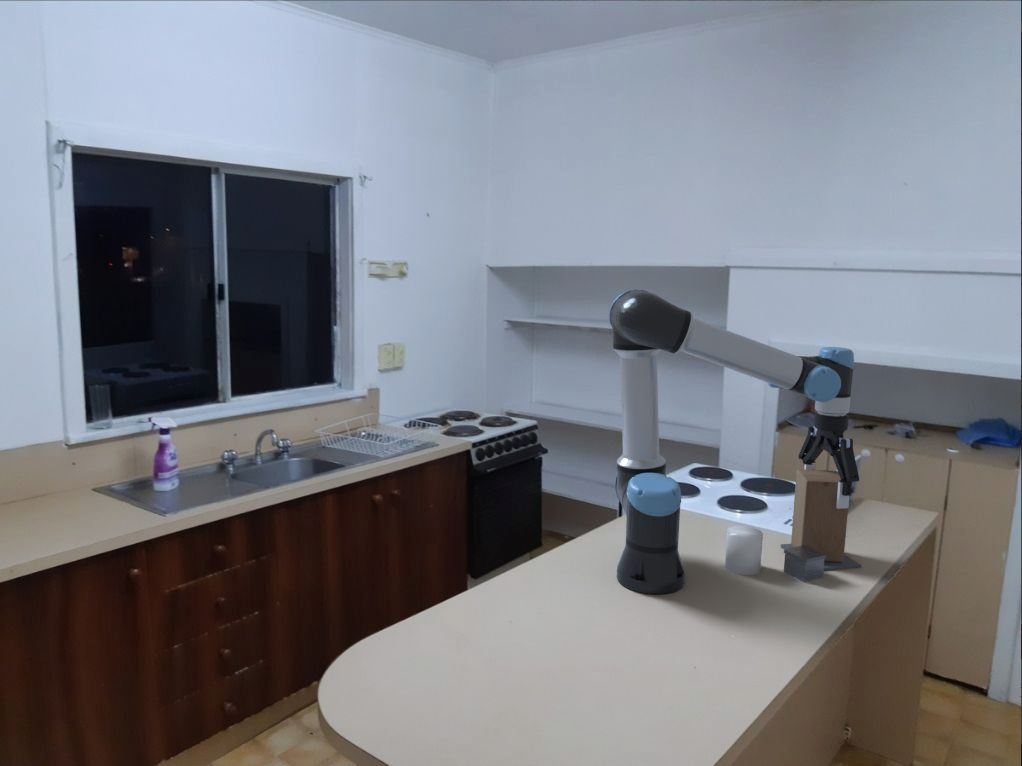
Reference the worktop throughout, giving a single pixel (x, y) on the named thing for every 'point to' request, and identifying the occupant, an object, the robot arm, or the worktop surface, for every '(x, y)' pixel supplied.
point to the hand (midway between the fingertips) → (824, 498)
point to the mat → (834, 565)
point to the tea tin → (804, 563)
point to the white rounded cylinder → (743, 550)
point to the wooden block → (819, 514)
